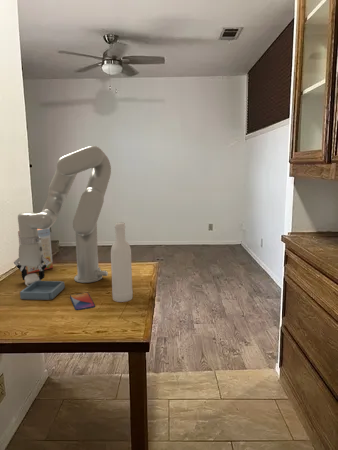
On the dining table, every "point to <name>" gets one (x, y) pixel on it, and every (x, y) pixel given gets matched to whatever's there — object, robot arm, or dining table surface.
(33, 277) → the garlic
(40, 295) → the tray
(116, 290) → the bottle
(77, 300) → the smartphone
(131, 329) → the dining table surface
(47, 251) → the cracker box
